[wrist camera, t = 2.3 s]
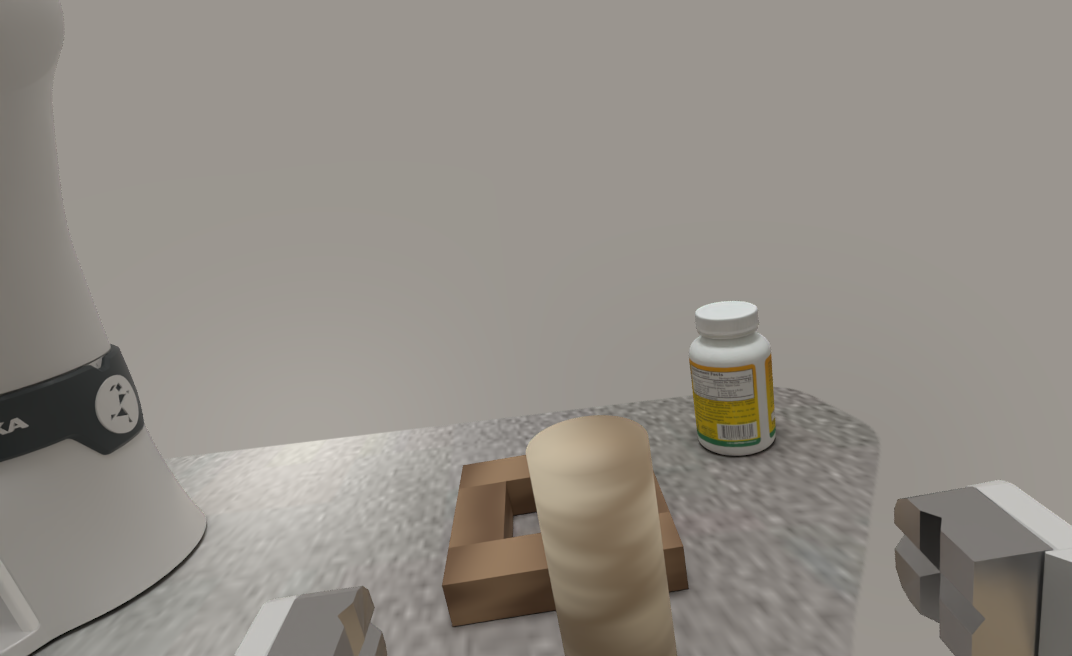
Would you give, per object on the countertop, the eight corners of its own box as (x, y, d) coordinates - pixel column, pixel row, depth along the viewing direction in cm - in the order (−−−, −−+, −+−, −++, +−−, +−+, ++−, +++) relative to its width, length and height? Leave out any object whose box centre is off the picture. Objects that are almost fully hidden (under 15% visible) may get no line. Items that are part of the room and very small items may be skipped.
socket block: (452, 626, 32) (442, 585, 31) (470, 497, 44) (463, 465, 43) (688, 588, 32) (683, 546, 31) (644, 468, 43) (639, 435, 43)
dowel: (580, 761, 24) (526, 484, 21) (571, 668, 28) (525, 426, 25) (696, 743, 24) (660, 462, 21) (669, 653, 28) (636, 407, 25)
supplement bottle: (737, 466, 42) (724, 328, 39) (681, 439, 46) (667, 314, 44) (794, 437, 44) (786, 304, 41) (736, 414, 49) (725, 293, 46)
